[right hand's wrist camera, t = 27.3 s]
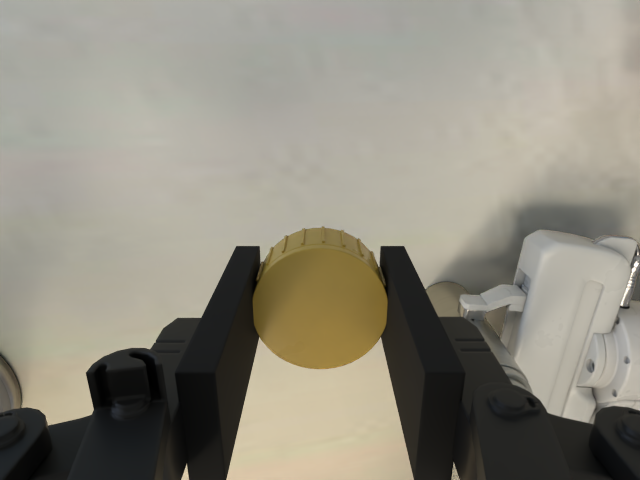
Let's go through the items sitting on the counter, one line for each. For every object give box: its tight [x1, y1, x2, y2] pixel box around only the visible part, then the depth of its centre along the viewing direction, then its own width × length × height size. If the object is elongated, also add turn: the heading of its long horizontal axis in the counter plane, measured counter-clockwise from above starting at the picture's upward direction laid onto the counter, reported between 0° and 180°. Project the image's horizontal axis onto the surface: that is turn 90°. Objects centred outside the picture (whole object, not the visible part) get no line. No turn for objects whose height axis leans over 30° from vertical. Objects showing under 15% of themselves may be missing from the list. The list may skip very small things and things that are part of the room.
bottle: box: [426, 282, 533, 394], centre depth 35 cm, size 5×5×19 cm
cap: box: [253, 227, 388, 369], centre depth 14 cm, size 4×4×2 cm
